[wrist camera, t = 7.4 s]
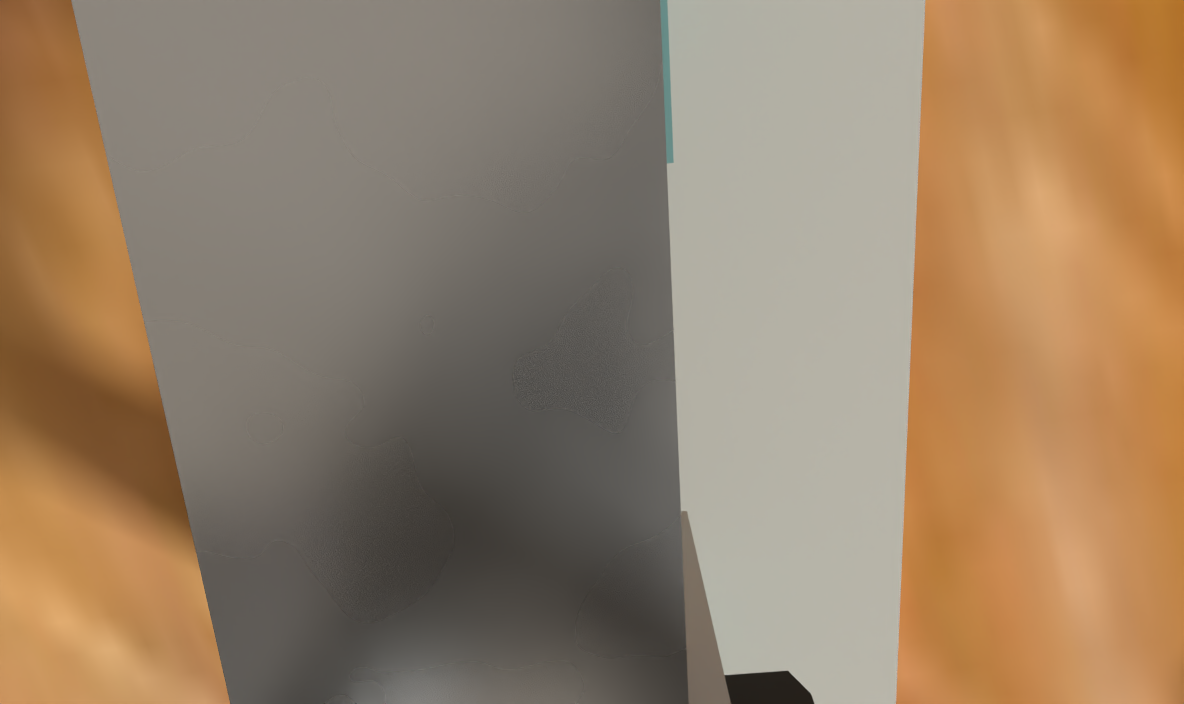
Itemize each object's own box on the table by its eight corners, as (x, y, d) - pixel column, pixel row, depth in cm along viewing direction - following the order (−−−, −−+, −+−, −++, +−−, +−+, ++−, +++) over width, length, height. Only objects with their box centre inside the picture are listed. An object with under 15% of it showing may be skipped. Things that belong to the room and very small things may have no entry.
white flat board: (620, -283, 24) (621, -289, 23) (928, -303, 24) (938, -310, 23) (672, 779, 34) (674, 793, 33) (886, 762, 34) (892, 775, 33)
